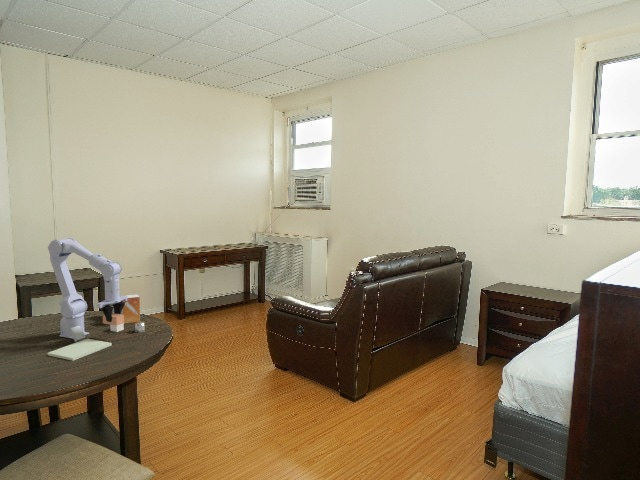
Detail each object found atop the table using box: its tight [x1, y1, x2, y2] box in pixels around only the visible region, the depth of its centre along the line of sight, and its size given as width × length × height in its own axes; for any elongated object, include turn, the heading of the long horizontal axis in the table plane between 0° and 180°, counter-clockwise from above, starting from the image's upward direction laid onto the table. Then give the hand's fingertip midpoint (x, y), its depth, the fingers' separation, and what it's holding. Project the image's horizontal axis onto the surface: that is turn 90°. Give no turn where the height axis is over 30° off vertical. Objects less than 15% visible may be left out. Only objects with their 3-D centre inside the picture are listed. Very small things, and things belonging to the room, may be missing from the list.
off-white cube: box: [109, 323, 125, 333], centre depth 195 cm, size 4×4×4 cm
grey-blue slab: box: [69, 326, 87, 343], centre depth 181 cm, size 6×4×2 cm
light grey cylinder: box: [134, 321, 146, 334], centre depth 194 cm, size 4×4×4 cm
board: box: [47, 338, 112, 362], centre depth 170 cm, size 14×18×1 cm
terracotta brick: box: [102, 313, 124, 326], centre depth 183 cm, size 8×4×4 cm, turn 69°
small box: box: [120, 293, 141, 325], centre depth 208 cm, size 8×6×13 cm
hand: (113, 320), depth 183 cm, fingers closed on terracotta brick, 4 cm apart
